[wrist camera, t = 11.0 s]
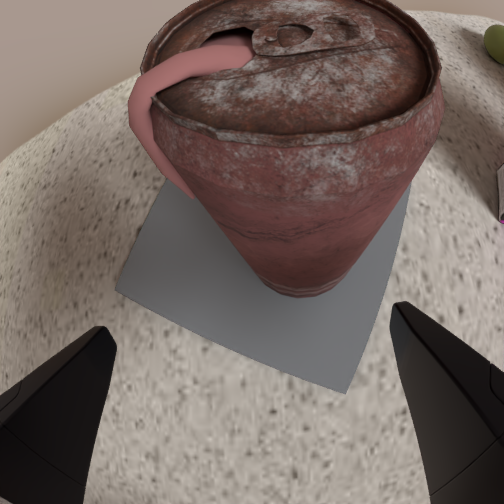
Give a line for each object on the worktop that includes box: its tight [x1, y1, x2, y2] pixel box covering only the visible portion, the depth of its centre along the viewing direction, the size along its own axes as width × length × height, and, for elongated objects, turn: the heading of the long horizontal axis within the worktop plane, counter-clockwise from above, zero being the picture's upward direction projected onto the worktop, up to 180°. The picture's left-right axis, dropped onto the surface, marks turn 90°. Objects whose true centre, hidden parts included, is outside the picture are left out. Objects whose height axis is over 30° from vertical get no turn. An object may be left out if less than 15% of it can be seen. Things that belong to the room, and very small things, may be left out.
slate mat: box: [115, 178, 412, 394], centre depth 18 cm, size 16×14×1 cm
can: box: [128, 0, 445, 298], centre depth 11 cm, size 6×6×14 cm
